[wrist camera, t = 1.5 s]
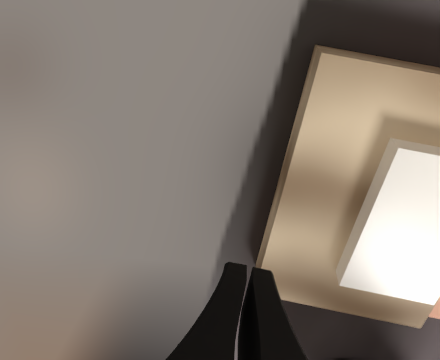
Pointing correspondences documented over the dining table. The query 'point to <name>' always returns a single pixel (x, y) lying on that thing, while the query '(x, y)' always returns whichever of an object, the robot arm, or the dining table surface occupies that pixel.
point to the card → (398, 227)
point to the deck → (343, 174)
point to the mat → (435, 311)
